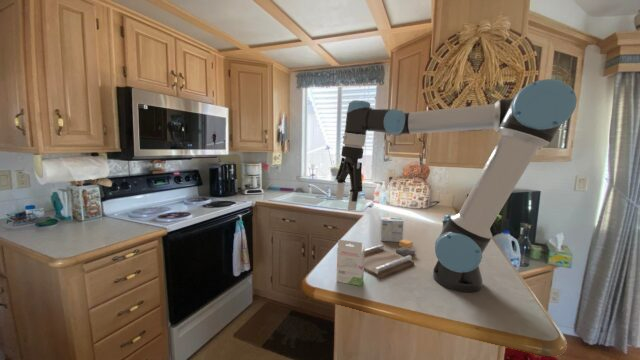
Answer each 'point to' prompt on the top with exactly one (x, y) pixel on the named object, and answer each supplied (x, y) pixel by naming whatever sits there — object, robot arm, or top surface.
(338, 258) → the ink box
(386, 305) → the top surface
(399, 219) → the light bulb box
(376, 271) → the steel rails
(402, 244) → the snap latch
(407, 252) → the latch housing
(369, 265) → the rail board
